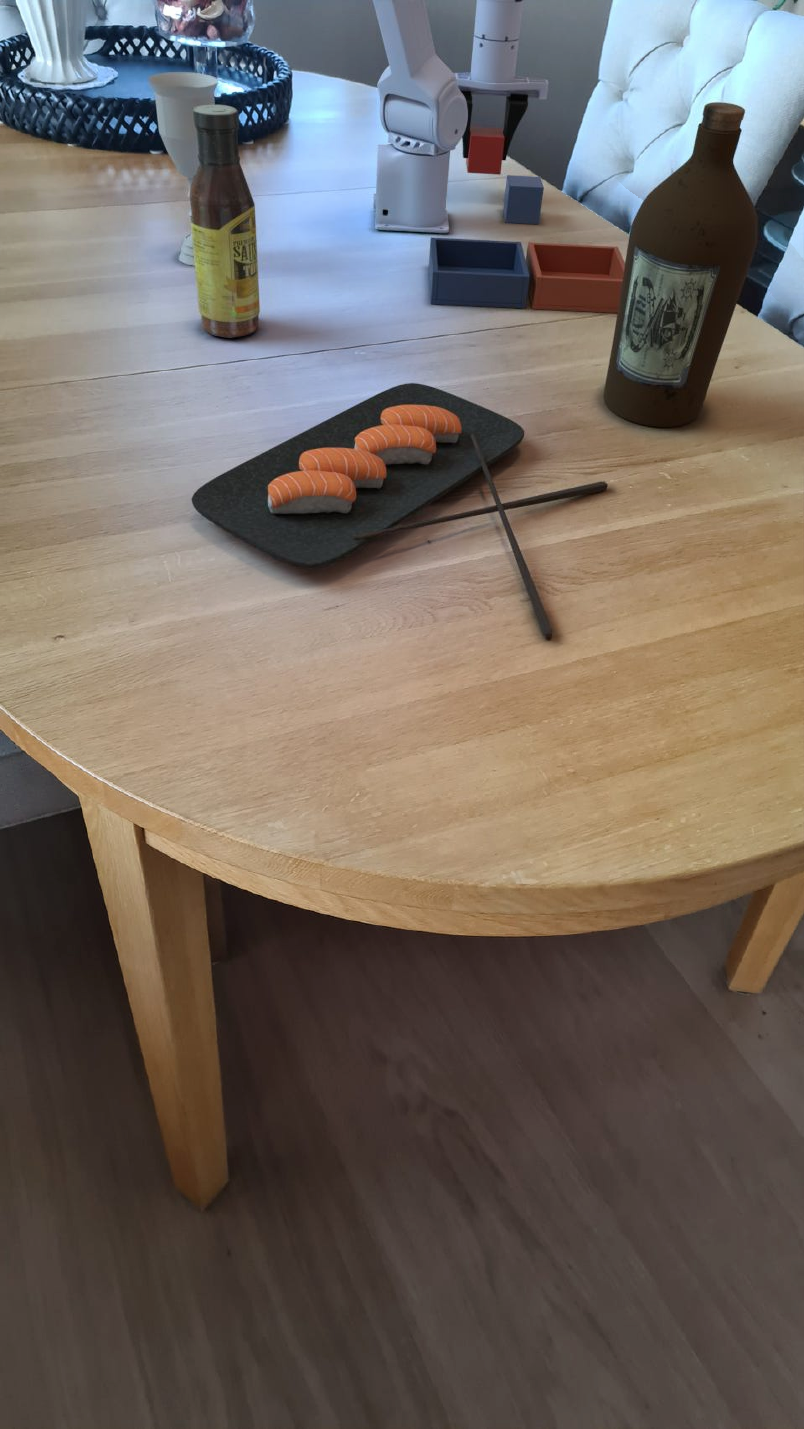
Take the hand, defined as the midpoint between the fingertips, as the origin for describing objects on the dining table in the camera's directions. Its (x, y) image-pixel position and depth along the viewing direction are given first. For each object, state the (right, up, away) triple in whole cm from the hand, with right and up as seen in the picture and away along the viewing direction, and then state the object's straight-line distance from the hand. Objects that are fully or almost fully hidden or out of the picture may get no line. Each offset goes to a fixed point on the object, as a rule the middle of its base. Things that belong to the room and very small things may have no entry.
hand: (484, 157), depth 131 cm
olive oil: (+13, -46, -37) cm, 61 cm away
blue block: (+5, -9, -1) cm, 10 cm away
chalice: (-35, -22, -17) cm, 44 cm away
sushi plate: (-8, -60, -53) cm, 80 cm away
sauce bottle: (-29, -35, -30) cm, 55 cm away
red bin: (+9, -27, -19) cm, 34 cm away
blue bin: (-3, -26, -19) cm, 32 cm away
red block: (0, -1, +1) cm, 1 cm away
